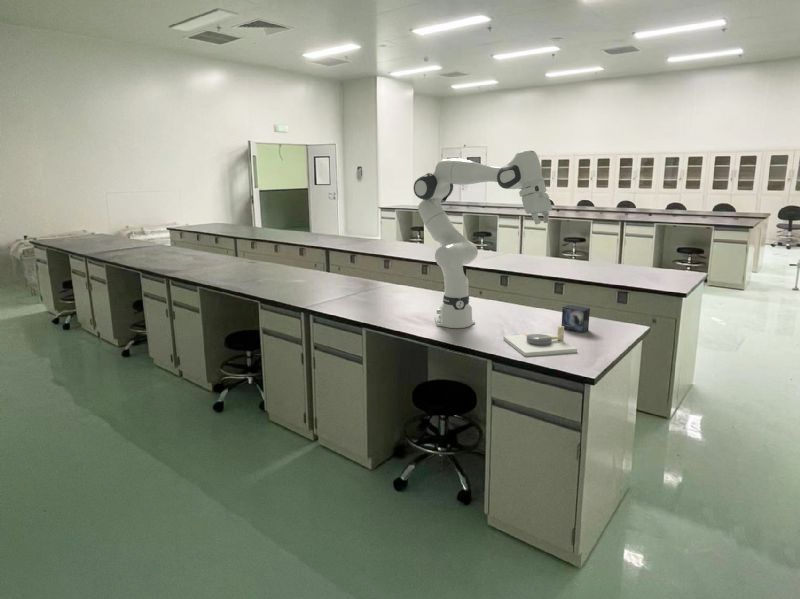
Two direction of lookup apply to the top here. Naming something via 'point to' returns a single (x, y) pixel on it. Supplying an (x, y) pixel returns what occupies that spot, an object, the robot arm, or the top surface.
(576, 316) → the small box
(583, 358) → the top surface
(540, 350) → the dial plate
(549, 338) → the dial
